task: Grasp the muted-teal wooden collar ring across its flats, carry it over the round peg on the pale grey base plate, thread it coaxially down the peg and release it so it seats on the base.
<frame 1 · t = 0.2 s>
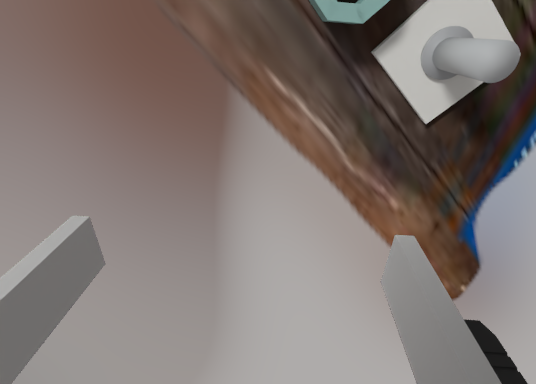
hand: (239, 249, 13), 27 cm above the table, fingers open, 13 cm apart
plate with round peg: (441, 52, 32), on the table
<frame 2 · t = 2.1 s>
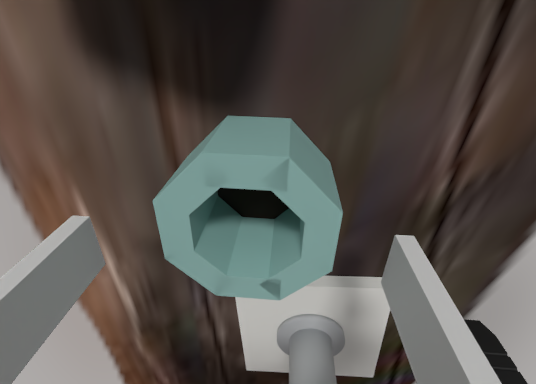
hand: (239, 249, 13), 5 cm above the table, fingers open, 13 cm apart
ring: (258, 183, 17), on the table
plate with round peg: (309, 323, 23), on the table
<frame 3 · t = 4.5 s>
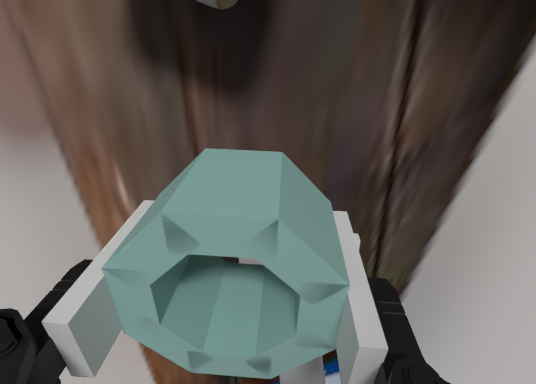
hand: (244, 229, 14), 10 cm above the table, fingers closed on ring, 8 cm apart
ring: (245, 226, 14), point 10 cm above the table, touching gripper
plate with round peg: (297, 277, 29), on the table
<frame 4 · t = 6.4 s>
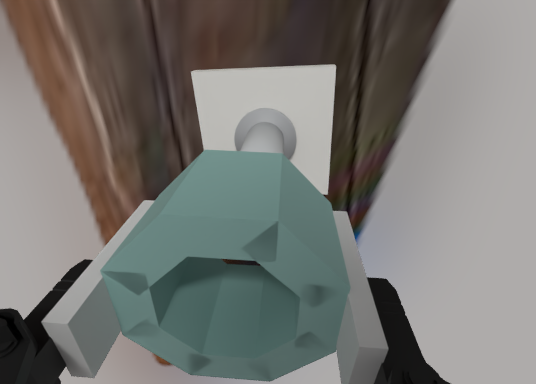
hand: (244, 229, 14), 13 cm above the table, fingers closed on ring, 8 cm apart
ring: (244, 227, 14), point 13 cm above the table, touching gripper
plate with round peg: (266, 135, 25), on the table
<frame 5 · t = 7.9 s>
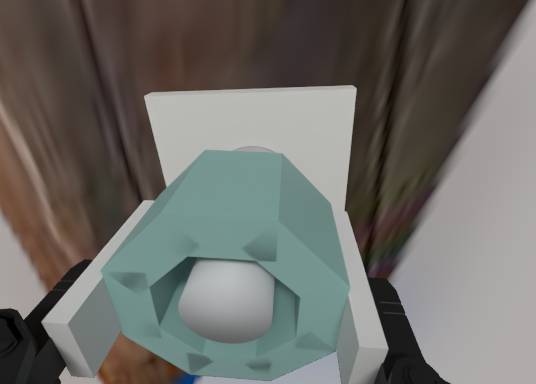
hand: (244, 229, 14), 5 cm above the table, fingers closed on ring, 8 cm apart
ring: (244, 227, 14), point 5 cm above the table, touching gripper
plate with round peg: (256, 179, 18), on the table
when the fingers open (2 cm above the table, at t = 8.9 s): ring stays where it is, resting on plate with round peg.
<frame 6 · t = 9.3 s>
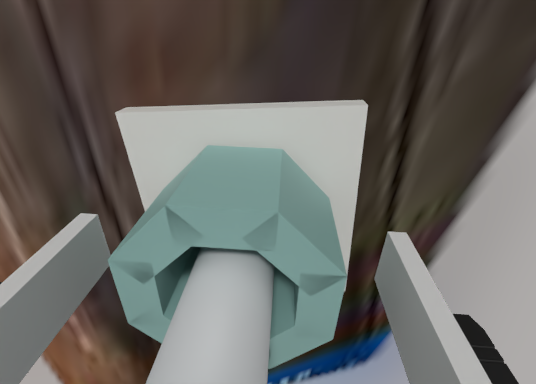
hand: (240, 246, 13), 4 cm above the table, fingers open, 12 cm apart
ring: (245, 221, 15), point 1 cm above the table, touching plate with round peg
plate with round peg: (249, 205, 16), on the table
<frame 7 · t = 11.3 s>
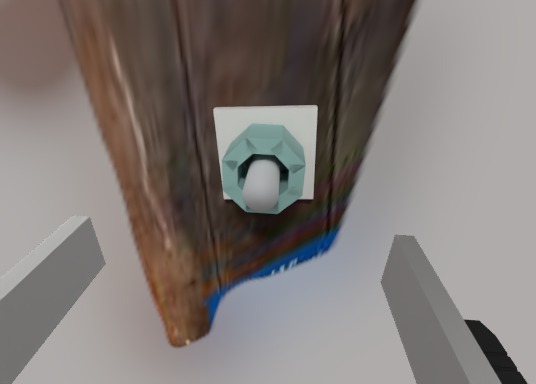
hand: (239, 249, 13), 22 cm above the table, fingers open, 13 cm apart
ring: (266, 159, 33), point 1 cm above the table, touching plate with round peg
plate with round peg: (267, 154, 34), on the table
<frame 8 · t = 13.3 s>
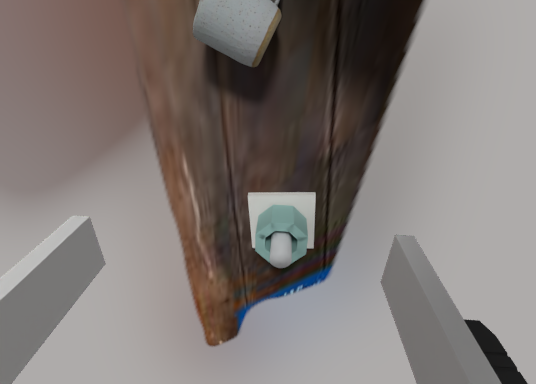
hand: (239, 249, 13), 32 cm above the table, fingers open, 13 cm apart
ring: (281, 225, 49), point 1 cm above the table, touching plate with round peg
ceramic mug: (246, 10, 36), on the table
plate with round peg: (282, 219, 50), on the table
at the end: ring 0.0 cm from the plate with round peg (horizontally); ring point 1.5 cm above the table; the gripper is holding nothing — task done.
